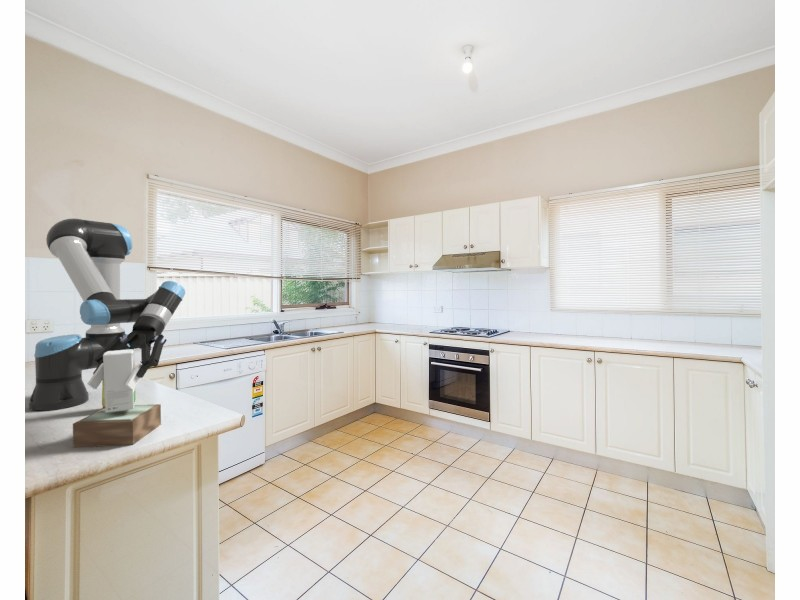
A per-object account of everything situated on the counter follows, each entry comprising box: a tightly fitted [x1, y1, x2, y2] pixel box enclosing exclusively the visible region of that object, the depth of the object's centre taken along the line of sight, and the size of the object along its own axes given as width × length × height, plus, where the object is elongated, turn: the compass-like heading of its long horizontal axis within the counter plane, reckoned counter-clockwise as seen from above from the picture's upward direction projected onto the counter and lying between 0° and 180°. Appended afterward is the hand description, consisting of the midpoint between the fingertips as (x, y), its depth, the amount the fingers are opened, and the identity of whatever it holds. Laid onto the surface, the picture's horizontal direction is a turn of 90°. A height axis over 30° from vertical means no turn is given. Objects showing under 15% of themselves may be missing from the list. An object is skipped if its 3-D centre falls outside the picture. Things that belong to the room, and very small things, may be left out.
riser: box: [72, 403, 162, 448], centre depth 100 cm, size 14×14×6 cm
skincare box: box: [103, 349, 137, 413], centre depth 100 cm, size 8×7×16 cm
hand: (110, 386), depth 97 cm, fingers closed on skincare box, 9 cm apart
